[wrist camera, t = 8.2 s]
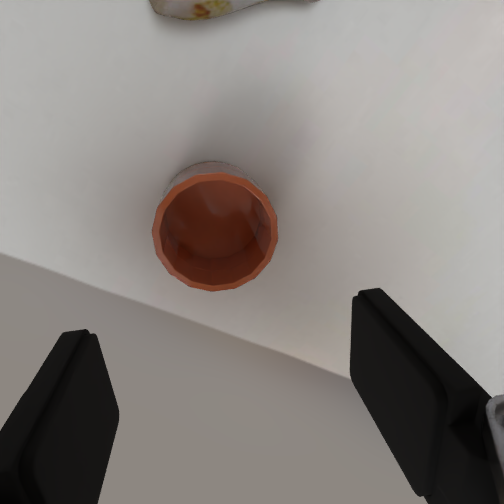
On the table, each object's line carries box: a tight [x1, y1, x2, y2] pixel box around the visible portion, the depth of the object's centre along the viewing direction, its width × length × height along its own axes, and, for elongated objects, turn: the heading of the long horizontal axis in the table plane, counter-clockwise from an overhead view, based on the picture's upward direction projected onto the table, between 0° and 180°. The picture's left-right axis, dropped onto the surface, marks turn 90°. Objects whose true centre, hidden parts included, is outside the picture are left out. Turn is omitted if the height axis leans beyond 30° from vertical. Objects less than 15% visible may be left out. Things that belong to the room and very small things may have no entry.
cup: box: [152, 162, 278, 291], centre depth 21 cm, size 7×7×4 cm
